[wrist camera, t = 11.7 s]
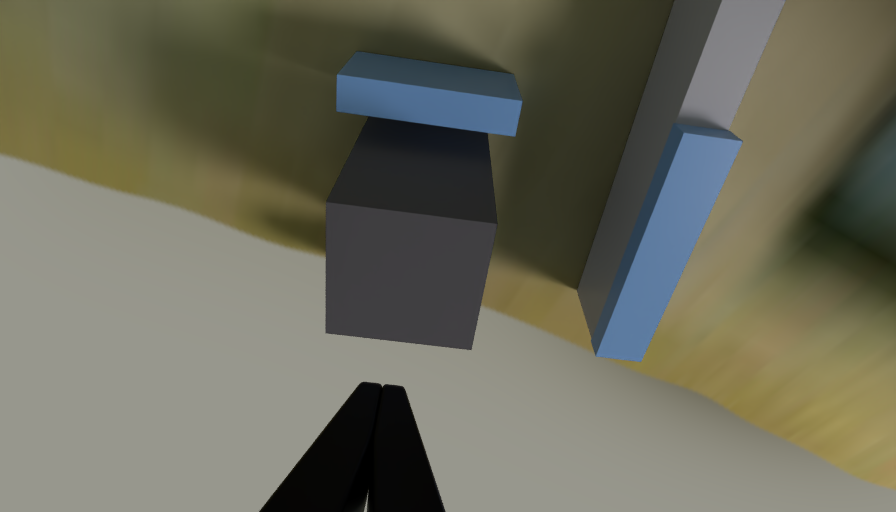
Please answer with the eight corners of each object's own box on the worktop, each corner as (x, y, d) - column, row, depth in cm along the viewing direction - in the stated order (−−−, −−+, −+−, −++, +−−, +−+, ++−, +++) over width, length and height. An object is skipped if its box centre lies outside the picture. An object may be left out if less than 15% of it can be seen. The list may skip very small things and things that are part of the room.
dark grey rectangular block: (487, 130, 18) (497, 223, 12) (469, 231, 20) (471, 350, 14) (369, 114, 17) (325, 202, 12) (364, 218, 20) (325, 333, 14)
